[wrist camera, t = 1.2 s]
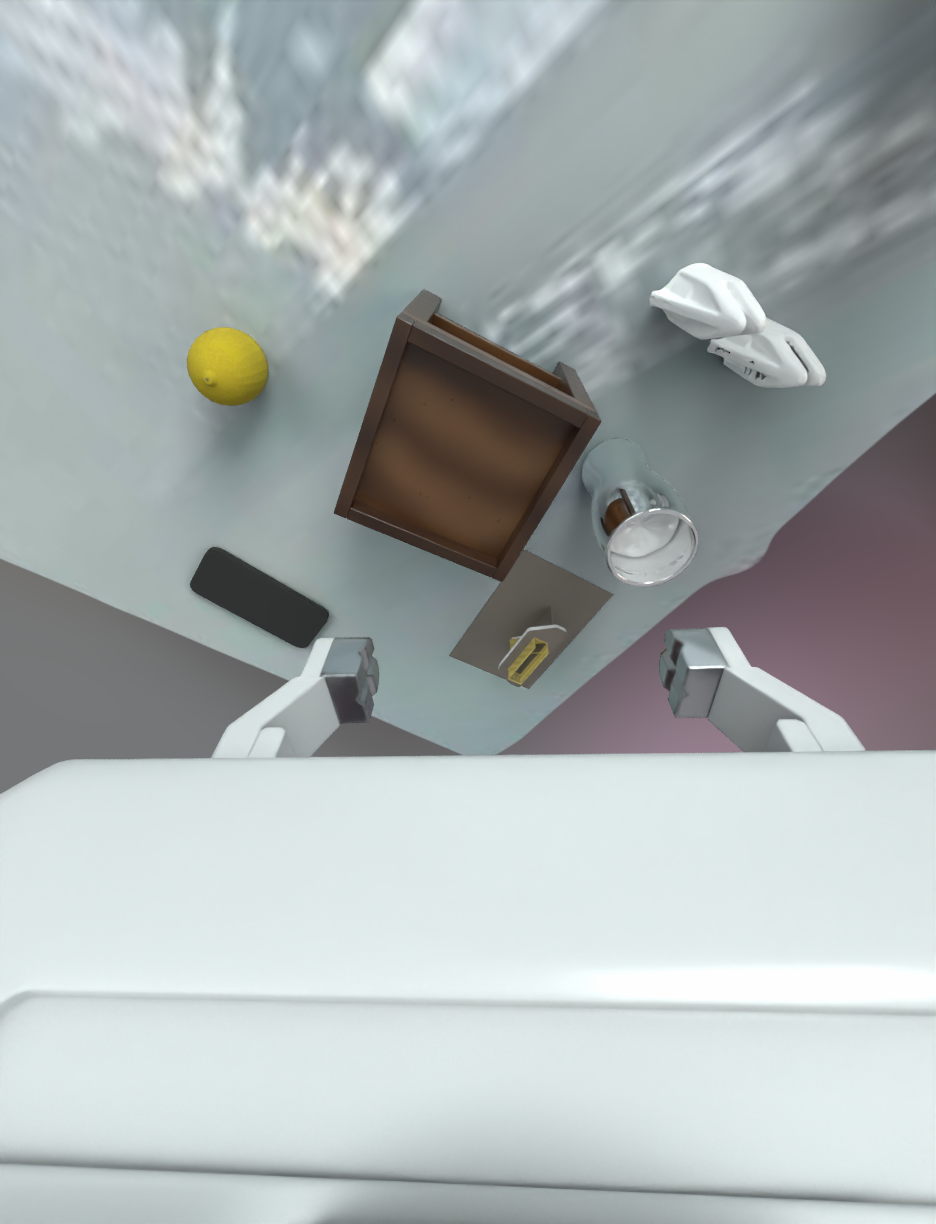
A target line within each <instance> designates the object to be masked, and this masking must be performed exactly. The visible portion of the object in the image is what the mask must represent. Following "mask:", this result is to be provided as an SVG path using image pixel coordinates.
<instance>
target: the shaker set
mask: <svg viewBox="0 0 936 1224" xmlns="http://www.w3.org/2000/svg"><path fill="white" fill-rule="evenodd" d="M649 304H650V306H651V307H658V308H661V309H663V311H664V312H665V313H666V315H667V318H668V320H669V321H670V322H672V323H674V324H675V325H677V326H678V327H680V328H681V329H683V330H685V331H686V332H688V333H689V334H691V335H693V336H694V337H696V338H698V339H712V340H710V341H712V342H711V344H710V345H709V347H708V348H707V351H708V352H709V353H714V354H717V355H719V356H721V357H723V358H724V365H725V366H727V367H729V368H730V369H731V370H733V371H734V372H736V373H737V374H738V375H740V376H741V377H743V378H745V379H746V380H748V381H749V382H751V383H752V384H754V385H756V386H759V387H797V386H802V385H811V386H820V385H822V384H823V383H824V382H825V379H826V372H825V370H824V367H823V366H822V364H821V363H820V361H819V360H818V358H817V357H816V355H815V354H814V353H813V351H812V350H811V349H810V347H809V346H808V344H807V343H806V342H805V340H804V339H803V338H802V337H801V336H800V335H799V334H798V333H796V332H794V331H793V330H791V329H789V328H787V327H784V326H782V325H780V324H778V323H776V322H774V321H772V320H770V319H768V318H766V316H765V313H764V311H763V309H762V308H761V306H760V305H759V303H758V302H757V300H756V299H755V297H754V296H753V294H752V293H751V292H750V290H749V289H748V287H747V286H746V285H745V283H744V282H743V281H742V280H740V279H738V278H736V277H734V276H732V275H729V274H727V273H725V272H722V271H720V270H717V269H715V268H712V267H711V266H709V265H707V264H703V263H696V264H693V265H690V266H687V267H685V268H683V269H681V270H679V271H678V273H677V274H676V275H675V276H674V277H673V279H672V280H671V281H670V282H669V283H668V284H667V285H666V286H665V287H664V288H663V289H661V290H660V291H653V292H652V293H651V296H650V299H649ZM721 337H724V338H721ZM714 338H721V339H714ZM710 341H709V343H710ZM716 347H719V348H721V349H722V348H723V350H728V351H729V352H730V354H729V353H728V352H726V351H723V350H721V349H719V350H718V349H717V350H716ZM715 350H716V352H715ZM750 361H754V363H753V364H752V363H750Z"/></svg>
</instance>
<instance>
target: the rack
mask: <svg viewBox="0 0 936 1224" xmlns="http://www.w3.org/2000/svg"><path fill="white" fill-rule="evenodd" d="M441 300H442V299H441V298H440V297H438V296H436V295H434V294H432V293H430V292H428V291H426V290H425V289H423V290H422V291H421V293H420V294H419V295H418V296H417V297H416V298H415V299H414V300H413V301H412V302H411V303H410V304H409V305H408V306H407V307H406V308H405V309H404V310H403V311H402V312H401V313H400V314H399V315H398V316H397V318H396V321H395V324H394V327H393V330H392V333H391V336H390V339H389V342H388V346H387V349H386V352H385V355H384V358H383V361H382V364H381V367H380V370H379V374H378V377H377V380H376V383H375V386H374V389H373V392H372V395H371V398H370V402H369V405H368V408H367V411H366V414H365V417H364V420H363V423H362V426H361V430H360V433H359V436H358V439H357V442H356V445H355V448H354V451H353V454H352V457H351V461H350V464H349V467H348V470H347V473H346V476H345V479H344V482H343V485H342V489H341V492H340V495H339V498H338V501H337V504H336V507H335V510H334V514H337V515H339V516H341V517H344V518H347V519H349V520H351V521H354V522H356V523H359V524H361V525H364V526H366V527H368V528H371V529H373V530H376V531H378V532H381V533H383V534H386V535H388V536H391V537H393V538H395V539H398V540H400V541H403V542H405V543H408V544H410V545H413V546H415V547H418V548H420V549H422V550H425V551H427V552H430V553H432V554H435V555H437V556H440V557H442V558H445V559H447V560H449V561H452V562H454V563H457V564H459V565H462V566H464V567H467V568H469V569H472V570H474V571H476V572H479V573H481V574H484V575H486V576H489V577H492V578H494V579H496V580H499V581H501V582H503V581H504V579H505V578H506V576H507V575H508V573H509V571H510V570H511V568H512V566H513V565H514V563H515V562H516V560H517V558H518V557H519V555H520V553H521V552H522V550H523V549H524V547H525V545H526V544H527V542H528V540H529V539H530V537H531V535H532V534H533V532H534V531H535V529H536V527H537V526H538V524H539V522H540V521H541V519H542V518H543V516H544V514H545V513H546V511H547V509H548V508H549V506H550V505H551V503H552V501H553V500H554V498H555V496H556V495H557V493H558V492H559V490H560V488H561V487H562V485H563V483H564V482H565V480H566V479H567V477H568V475H569V474H570V472H571V470H572V469H573V467H574V466H575V464H576V462H577V461H578V459H579V457H580V456H581V454H582V453H583V451H584V449H585V448H586V446H587V444H588V443H589V441H590V439H591V438H592V436H593V435H594V433H595V431H596V430H597V428H598V426H599V425H600V423H601V420H600V418H599V416H598V414H597V412H596V410H595V408H594V406H593V404H592V402H591V400H590V398H589V396H588V394H587V392H586V390H585V388H584V387H583V385H582V383H581V381H580V379H579V377H578V375H577V373H576V371H575V369H573V368H571V367H569V366H567V365H565V364H564V363H562V362H558V364H557V366H556V368H555V370H554V372H553V373H551V372H549V371H547V370H545V369H543V368H541V367H539V366H537V365H535V364H534V363H532V362H530V361H528V360H526V359H524V358H522V357H520V356H518V355H516V354H514V353H513V352H511V351H509V350H507V349H505V348H503V347H501V346H499V345H497V344H495V343H493V342H492V341H490V340H488V339H486V338H484V337H482V336H480V335H478V334H476V333H474V332H472V331H471V330H469V329H467V328H465V327H463V326H461V325H459V324H457V323H455V322H453V321H452V320H450V319H448V318H446V317H444V316H442V315H440V314H438V313H437V311H438V308H439V306H440V303H441Z"/></svg>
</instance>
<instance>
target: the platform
mask: <svg viewBox="0 0 936 1224" xmlns="http://www.w3.org/2000/svg"><path fill="white" fill-rule="evenodd" d="M613 595H614V594H612V593H610V592H608V591H606V590H604V589H602V588H600V587H598V586H596V585H594V584H592V583H590V582H588V581H586V580H584V579H582V578H580V577H578V576H576V575H574V574H572V573H570V572H568V571H566V570H564V569H562V568H560V567H558V566H556V565H554V564H552V563H550V562H548V561H546V560H544V559H542V558H540V557H538V556H536V555H534V554H532V553H530V552H528V551H526V550H523V552H522V553H521V555H520V556H519V557H518V559H517V560H516V562H515V563H514V565H513V566H512V568H511V570H510V571H509V573H508V575H507V576H506V578H505V579H504V581H503V582H501V583H500V584H499V586H498V587H497V589H496V590H495V591H494V593H493V594H492V596H491V597H490V598H489V600H488V601H487V603H486V604H485V605H484V607H483V608H482V610H481V611H480V613H479V614H478V615H477V617H476V618H475V620H474V621H473V622H472V624H471V625H470V627H469V628H468V629H467V631H466V632H465V634H464V635H463V637H462V638H461V639H460V641H459V642H458V644H457V645H456V646H455V648H454V649H453V651H452V652H451V653H450V655H449V656H451V657H453V658H455V659H458V660H460V661H463V662H465V663H467V664H470V665H472V666H475V667H477V668H479V669H482V670H484V671H487V672H489V673H491V674H494V675H496V676H499V677H501V678H503V679H506V680H507V681H508V682H509V683H510V684H512V685H515V686H517V687H521V686H523V687H525V688H527V689H529V688H530V687H531V686H532V685H533V684H534V683H535V681H536V680H537V679H538V678H539V677H540V676H541V675H542V674H543V673H544V671H545V670H546V669H547V668H548V667H549V666H550V665H551V664H552V663H553V661H554V660H555V659H556V658H557V657H558V656H559V655H560V654H561V652H562V651H563V650H564V649H565V648H566V647H567V646H568V645H569V644H570V642H571V641H572V640H573V639H574V638H575V637H576V636H577V635H578V634H579V632H580V631H581V630H582V629H583V628H584V627H585V626H586V625H587V624H588V622H589V621H590V620H591V619H592V618H593V617H594V616H595V615H596V614H597V612H598V611H599V610H600V609H601V608H602V607H603V606H604V605H605V604H606V602H607V601H608V600H609V599H610V598H611V597H612V596H613Z"/></svg>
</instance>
